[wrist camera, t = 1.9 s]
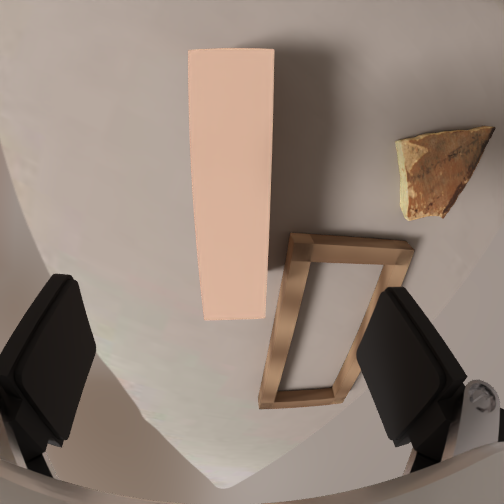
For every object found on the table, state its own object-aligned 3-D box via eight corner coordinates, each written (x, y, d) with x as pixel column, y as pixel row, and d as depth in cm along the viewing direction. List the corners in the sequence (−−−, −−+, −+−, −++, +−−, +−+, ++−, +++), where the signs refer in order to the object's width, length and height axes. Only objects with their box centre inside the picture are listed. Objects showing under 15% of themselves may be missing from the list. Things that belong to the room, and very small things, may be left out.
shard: (485, 123, 19) (498, 127, 17) (483, 199, 23) (494, 206, 21) (390, 134, 20) (402, 138, 18) (397, 223, 24) (406, 232, 22)
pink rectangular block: (198, 61, 16) (188, 50, 12) (261, 60, 17) (274, 49, 12) (207, 273, 24) (204, 320, 20) (257, 272, 25) (265, 318, 20)
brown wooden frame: (290, 232, 23) (294, 242, 21) (405, 240, 24) (414, 250, 23) (258, 398, 34) (259, 409, 32) (339, 393, 35) (342, 403, 33)
